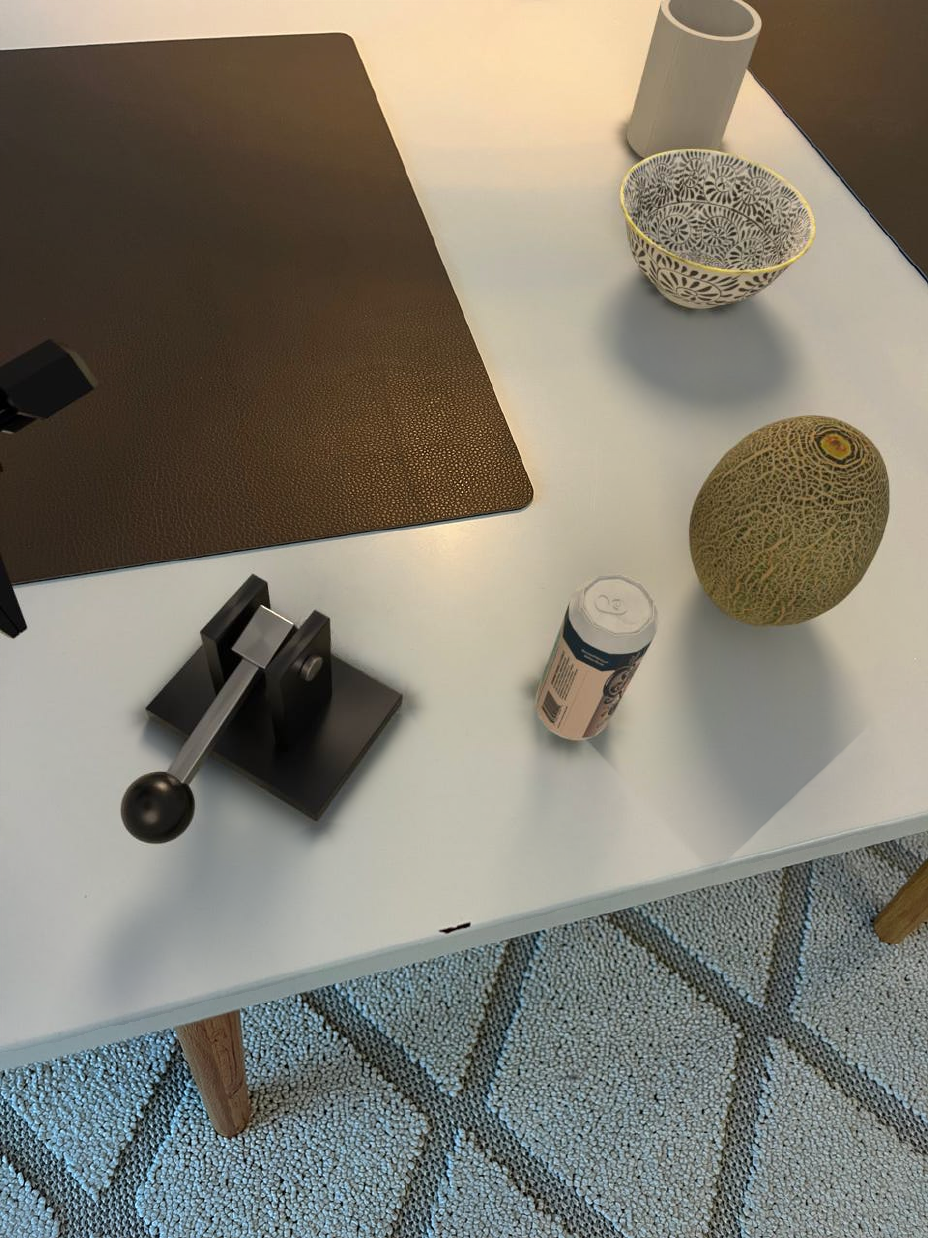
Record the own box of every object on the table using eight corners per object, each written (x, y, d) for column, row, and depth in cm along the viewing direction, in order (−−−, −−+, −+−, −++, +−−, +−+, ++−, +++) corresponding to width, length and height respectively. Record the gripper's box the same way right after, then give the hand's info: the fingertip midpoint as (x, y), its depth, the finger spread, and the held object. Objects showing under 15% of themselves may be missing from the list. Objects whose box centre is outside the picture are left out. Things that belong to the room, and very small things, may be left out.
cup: (608, 132, 94) (640, 2, 84) (669, 107, 98) (707, -21, 88) (674, 180, 91) (715, 50, 81) (735, 151, 94) (781, 24, 84)
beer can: (606, 750, 58) (661, 652, 48) (529, 736, 58) (568, 634, 48) (611, 682, 60) (665, 575, 50) (538, 668, 60) (576, 558, 50)
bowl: (668, 367, 77) (696, 290, 70) (566, 248, 83) (584, 169, 77) (816, 318, 82) (855, 242, 76) (709, 210, 89) (736, 133, 82)
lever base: (316, 822, 53) (311, 750, 45) (148, 717, 56) (113, 630, 48) (402, 703, 58) (411, 618, 50) (243, 610, 60) (226, 514, 52)
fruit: (631, 562, 66) (698, 406, 53) (748, 501, 70) (835, 344, 57) (740, 688, 61) (842, 550, 49) (858, 615, 65) (980, 471, 53)
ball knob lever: (178, 859, 49) (152, 856, 45) (123, 823, 50) (94, 817, 46) (317, 645, 52) (303, 627, 48) (264, 614, 53) (246, 593, 49)
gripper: (-548, 427, 27) (-149, 811, 33) (11, 168, 36) (243, 512, 42) (-485, 462, 36) (-178, 761, 42) (-48, 247, 44) (152, 522, 51)
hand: (18, 633), depth 44 cm, fingers closed
